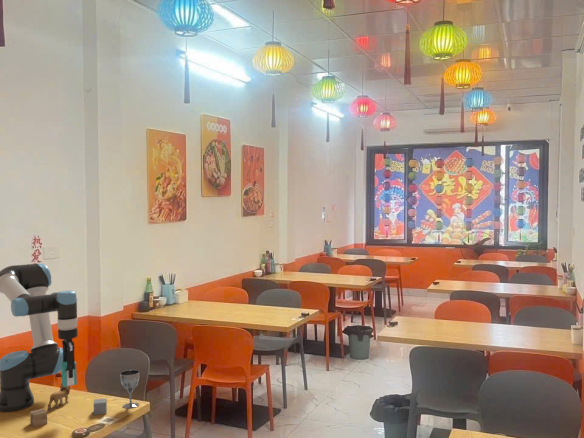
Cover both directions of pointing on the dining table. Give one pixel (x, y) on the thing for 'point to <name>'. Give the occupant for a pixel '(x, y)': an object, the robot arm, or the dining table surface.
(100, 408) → the grey block
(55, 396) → the lion figurine
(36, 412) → the walnut block
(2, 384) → the robot arm
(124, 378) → the wine glass
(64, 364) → the teal block
